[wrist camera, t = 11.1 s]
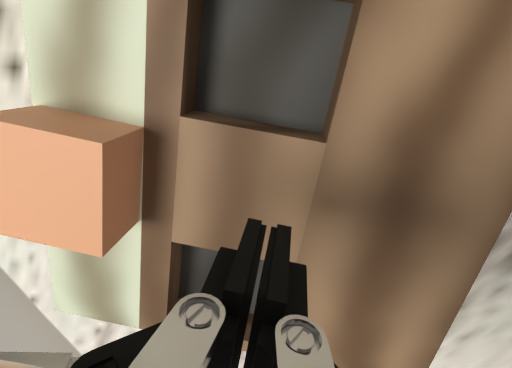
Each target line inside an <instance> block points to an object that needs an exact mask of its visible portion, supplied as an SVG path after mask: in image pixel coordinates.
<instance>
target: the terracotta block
mask: <svg viewBox="0 0 512 368" xmlns="http://www.w3.org/2000/svg"><path fill="white" fill-rule="evenodd" d="M143 135H144V127H141V126H136V125H132V124H127V123H122V122H118V121H113V120H108V119H104V118H99V117H94V116H90V115H85V114H80V113H76V112H71V111H66V110H62V109H57V108H52V107H47V106H43V105H37V106H30V107H23V108H16V109H10V110H3V111H0V235H5V236H9V237H14V238H18V239H22V240H27V241H31V242H36V243H40V244H44V245H49V246H53V247H57V248H62V249H66V250H71V251H75V252H79V253H84V254H88V255H93V256H97V257H101V258H102V257H103V256H104V255H105V254H106V253H107V252H108V251H109V250H110V249H111V248H112V247H113V246H114V245H115V244H116V243H117V242H118V241H119V240H120V239H121V238H122V237H123V236H124V235H125V234H126V233H127V232H128V231H129V230H130V229H131V228H132V227H133V226H134V225H135V224H136V223H137V222H138V221H139V212H140V192H141V173H142V154H143Z"/></svg>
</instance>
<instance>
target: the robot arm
mask: <svg viewBox="0 0 512 368" xmlns="http://www.w3.org/2000/svg"><path fill="white" fill-rule="evenodd" d="M266 227H267V225H262V220H257V219H252V218H248V220H247V223H246V226H245V229H244V232H243V235H242V238H241V241H240V244H239V247H238V250H235V249H230V248H226V247H220V249H219V251H218V253H217V256H216V258H215V260H214V262H213V265H212V267H211V269H210V272H209V274H208V276H207V278H206V281H205V283H204V285H203V288H202V290H201V292H200V293H194V294H190V295H187V296H185V297H183V298H181V299H180V300H179V301H178V302H177V303H176V305H175V306H174V307H173V309H172V310H171V311H170V313H169V314H168V315H167V317H166V318H165V319H164V321H162V322H160V323H158V324H155V325H153V326H150V327H148V328H145V329H143V330H140V331H138V332H135V333H133V334H130V335H128V336H126V337H123V338H121V339H118V340H116V341H113V342H111V343H108V344H106V345H103V346H101V347H98V348H96V349H94V350H91V351H90V352H88V353H86V354H84V355H82V356H81V357H73V354H72V353H50V352H49V353H48V352H0V368H238V365H239V360H240V355H241V350H242V345H243V341H244V336H245V331H246V326H247V321H248V316H249V312H250V307H251V302H252V297H253V292H254V287H255V283H256V278H257V273H258V268H259V262H260V257H261V252H262V247H263V242H264V237H265V232H266ZM291 229H292V227H290V226H286V225H281V224H277V227H272V226H271V230H270V235H269V240H268V245H267V250H266V255H265V259H264V264H263V269H262V274H261V279H260V284H259V289H258V294H257V299H256V305H255V310H254V315H253V320H252V326H251V331H250V336H249V342H248V347H247V352H246V358H245V363H244V368H339V367H338V366H337V365H336V364H335V363H334V362H333V359H332V355H331V351H330V347H329V343H328V340H327V337H326V335H325V332H324V331H323V329H322V328H321V327H320V326H319V325H318V324H317V323H316V322H315V321H313V320H312V319H310V318H308V299H307V267H306V265H304V264H299V263H295V262H290V246H291Z"/></svg>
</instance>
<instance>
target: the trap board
mask: <svg viewBox="0 0 512 368" xmlns="http://www.w3.org/2000/svg"><path fill="white" fill-rule="evenodd" d="M21 8H22V17H23V26H24V35H25V44H26V53H27V62H28V72H29V81H30V90H31V99H32V106H37V105H43V106H47V107H52V108H57V109H62V110H66V111H71V112H76V113H80V114H85V115H90V116H94V117H99V118H104V119H108V120H113V121H118V122H122V123H127V124H132V125H136V126H141V127H144V135H143V154H142V173H141V192H140V212H139V221H138V222H137V223H136V224H135V225H134V226H133V227H132V228H131V229H130V230H129V231H128V232H127V233H126V234H125V235H124V236H123V237H122V238H121V239H120V240H119V241H118V242H117V243H116V244H115V245H114V246H113V247H112V248H111V249H110V250H109V251H108V252H107V253H106V254H105V255H104V256H103V257H102V258H101V257H97V256H93V255H88V254H84V253H79V252H75V251H71V250H66V249H62V248H57V247H53V246H49V245H48V254H49V263H50V272H51V281H52V291H53V300H54V309H55V311H59V312H64V313H69V314H73V315H78V316H83V317H87V318H92V319H97V320H101V321H106V322H111V323H116V324H120V325H125V326H130V327H134V328H139V329H145V328H148V327H150V326H153V325H155V324H158V323H160V322H162V321H164V319H165V318H166V317H167V315H168V314H169V313H170V311H171V310H172V309H173V307H174V306H175V305H176V303H177V302H178V301H179V300H180V299H181V298H183V297H185V296H187V295H190V294H194V293H200V292H201V290H202V288H203V285H204V283H205V281H206V278H207V276H208V274H209V272H210V269H211V267H212V265H213V262H214V260H215V258H216V256H217V253H218V251H219V249H220V247H226V248H230V249H235V250H238V247H239V244H240V241H241V238H242V235H243V232H244V229H245V226H246V223H247V220H248V218H252V219H257V220H262V225H267V227H266V232H265V237H264V242H263V247H262V252H261V257H260V262H259V268H258V273H257V278H256V283H255V287H254V292H253V297H252V302H251V307H250V312H249V316H248V321H247V326H246V331H245V336H244V341H243V345H242V351H247V347H248V342H249V336H250V331H251V326H252V320H253V315H254V310H255V305H256V299H257V294H258V289H259V284H260V279H261V274H262V269H263V264H264V259H265V255H266V250H267V245H268V240H269V235H270V230H271V226H272V227H277V224H281V225H286V226H290V227H292V229H291V246H290V262H295V263H299V264H304V265H306V267H307V299H308V318H310V319H312V320H313V321H315V322H316V323H317V324H318V325H319V326H320V327H321V328H322V329H323V331H324V332H325V335H326V337H327V340H328V343H329V347H330V351H331V355H332V359H333V362H334V363H335V364H336V365H337V366H338V367H339V368H429V366H430V364H431V362H432V361H433V359H434V357H435V355H436V353H437V351H438V349H439V347H440V345H441V344H442V342H443V340H444V338H445V336H446V334H447V332H448V330H449V328H450V327H451V325H452V323H453V321H454V319H455V317H456V315H457V313H458V311H459V310H460V308H461V306H462V304H463V302H464V300H465V298H466V296H467V294H468V293H469V291H470V289H471V287H472V285H473V283H474V281H475V279H476V277H477V276H478V274H479V272H480V270H481V268H482V266H483V264H484V262H485V260H486V259H487V257H488V255H489V253H490V251H491V249H492V247H493V245H494V243H495V242H496V240H497V238H498V236H499V234H500V232H501V230H502V228H503V226H504V225H505V223H506V221H507V219H508V217H509V215H510V213H511V211H512V0H21Z"/></svg>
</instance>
